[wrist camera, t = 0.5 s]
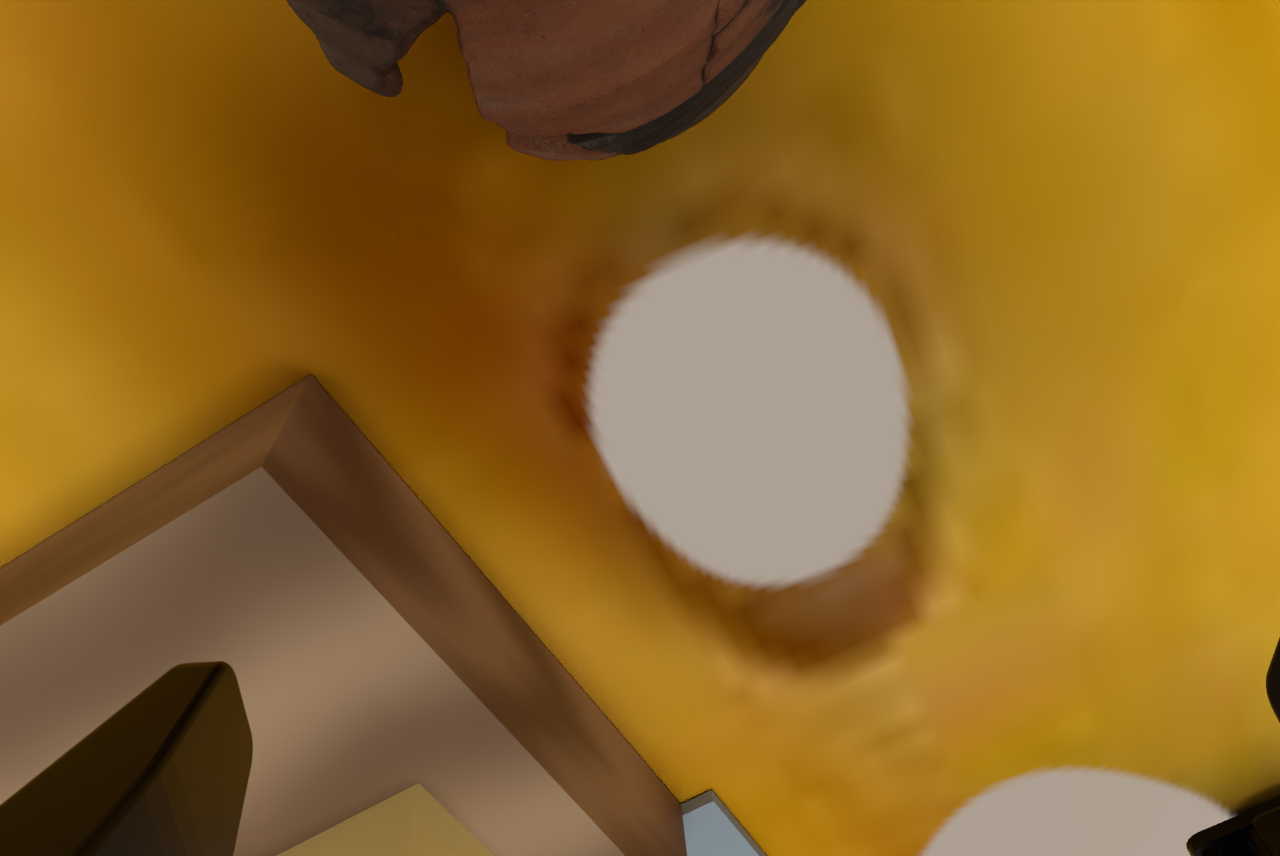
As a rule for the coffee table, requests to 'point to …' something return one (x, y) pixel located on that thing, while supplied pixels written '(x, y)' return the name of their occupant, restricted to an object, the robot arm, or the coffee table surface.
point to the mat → (714, 829)
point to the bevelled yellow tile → (396, 831)
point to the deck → (319, 647)
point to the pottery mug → (566, 61)
